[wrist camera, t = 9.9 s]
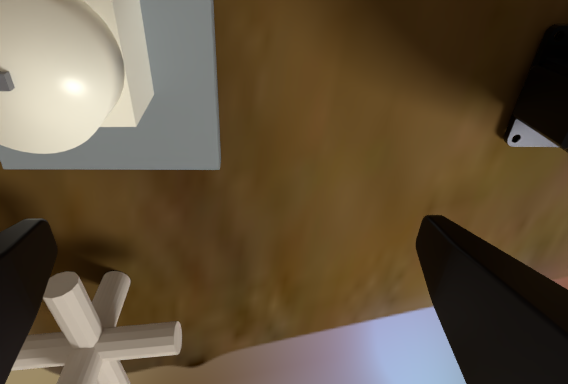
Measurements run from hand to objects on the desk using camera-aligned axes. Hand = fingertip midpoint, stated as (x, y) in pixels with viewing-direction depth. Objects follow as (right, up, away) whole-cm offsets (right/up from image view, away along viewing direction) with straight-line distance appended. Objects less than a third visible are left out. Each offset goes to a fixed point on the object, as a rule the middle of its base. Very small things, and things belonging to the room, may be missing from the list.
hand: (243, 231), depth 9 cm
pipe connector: (-11, -5, +17) cm, 21 cm away
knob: (-8, +8, +7) cm, 13 cm away
